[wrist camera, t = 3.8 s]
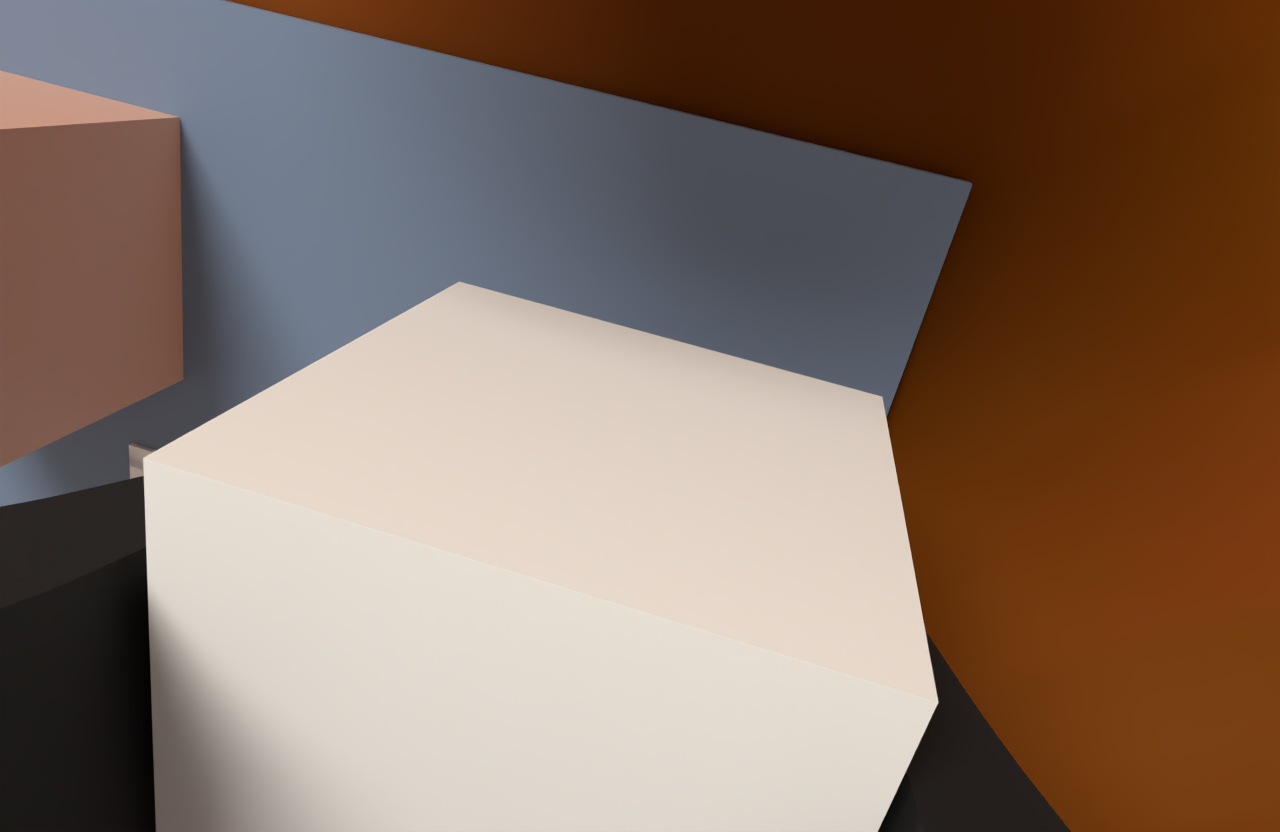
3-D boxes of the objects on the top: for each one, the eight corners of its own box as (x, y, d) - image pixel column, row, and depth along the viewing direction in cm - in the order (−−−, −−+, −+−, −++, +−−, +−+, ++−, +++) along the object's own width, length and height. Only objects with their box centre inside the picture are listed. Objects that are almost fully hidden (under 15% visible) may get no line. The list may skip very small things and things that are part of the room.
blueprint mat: (701, 911, 20) (698, 926, 19) (-16, 668, 21) (-30, 677, 21) (969, 181, 13) (973, 184, 12) (-123, -85, 15) (-148, -89, 14)
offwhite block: (761, 731, 11) (718, 1169, 7) (416, 621, 12) (160, 959, 7) (882, 396, 9) (939, 702, 5) (459, 281, 10) (143, 457, 5)
